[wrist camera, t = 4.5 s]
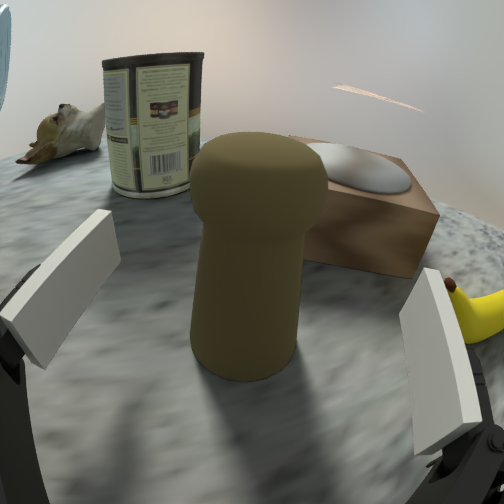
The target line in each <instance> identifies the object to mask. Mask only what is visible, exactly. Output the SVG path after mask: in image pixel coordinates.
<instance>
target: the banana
mask: <svg viewBox="0 0 504 504" xmlns="http://www.w3.org/2000/svg"><path fill="white" fill-rule="evenodd" d="M444 284H445V287H446V290H447V292H448V295H449V298H450V301H451V303H452V306H453V309H454V312H455V315H456V318H457V321H458V324H459V327H460V330H461V333H462V337H463V340H464V343H467V344H471V343H477V342H480V341H482V340H485V339H487V338H489V337H491V336H493V335H495V334H496V333H498V332H500V331H501V330H503V329H504V289H503V290H501V291H499V292H496V293H493V294H491V295H488V296H484V297H480V298H473V299H469V298H468V297H467V295H466V294H465V293H464V292H463V291H462V290H461V289H460V288H459V287H457V286H456V284H455V282H454V281H453V280H452V279H451V278H446V279H445V281H444Z"/></svg>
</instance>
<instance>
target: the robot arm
mask: <svg viewBox="0 0 504 504" xmlns="http://www.w3.org/2000/svg"><path fill="white" fill-rule="evenodd" d="M10 45H11V14H10V11H9V7H8V6H7V5H6V4H2V5H0V110H1V108H2V105H3V102H4V97H5V92H6V86H7V78H8V70H9V58H10ZM120 262H121V257H120V252H119V247H118V242H117V238H116V233H115V227H114V222H113V217H112V211H107V210H101V209H98V210H97V211H95V212H94V213H93V214H92V215H91V216H90V217H89V218H88V219H87V220H86V221H85V222H83V223H82V224H81V225H80V226H79V227H78V228H77V229H76V230H75V231H74V232H73V233H72V234H71V235H70V236H69V237H68V238H67V239H66V240H65V241H64V242H63V243H62V244H61V245H60V246H59V247H58V248H57V249H56V250H55V251H54V252H53V253H52V254H51V255H50V256H49V257H48V258H47V259H46V260H45V261H44V262H43V263H42V264H39V265H38V266H36V267H35V268H33V269H32V270H30V271H29V272H28V273H27V274H26V275H25V276H24V277H23V279H22V281H20V282H19V283H18V284H17V285H16V286H15V287H16V288H14V289H13V290H12V291H11V292H10V293H9V295H8V296H7V297H6V298H5V299H4V301H3V302H2V303H1V304H0V504H50V503H49V500H48V497H47V493H46V490H45V486H44V483H43V479H42V475H41V472H40V467H39V463H38V459H37V454H36V450H35V445H34V439H33V434H32V428H31V422H30V415H29V407H28V398H27V388H26V375H25V363H24V360H23V359H22V358H23V356H24V355H25V354H26V356H27V357H28V358H29V360H30V361H31V362H32V363H33V364H35V365H37V366H38V367H40V368H42V369H44V370H46V368H47V366H48V365H49V363H50V361H51V360H52V358H53V357H54V355H55V354H56V352H57V350H58V349H59V347H60V346H61V344H62V343H63V341H64V340H65V338H66V337H67V335H68V334H69V332H70V331H71V329H72V328H73V326H74V325H75V323H76V322H77V321H78V319H79V318H80V316H81V315H82V313H83V312H84V311H85V309H86V308H87V306H88V305H89V304H90V302H91V301H92V299H93V298H94V297H95V295H96V294H97V293H98V291H99V290H100V288H101V287H102V286H103V284H104V283H105V282H106V280H107V279H108V278H109V276H110V275H111V274H112V273H113V271H114V270H115V269H116V267H117V266H118V265H119V264H120ZM399 318H400V324H401V329H402V335H403V341H404V348H405V354H406V361H407V369H408V377H409V385H410V395H411V406H412V418H413V435H414V456H418V455H432V454H434V453H436V452H437V451H439V450H441V449H442V453H443V455H442V456H440V457H439V458H437V459H435V460H433V461H431V462H430V463H429V464H428V465H427V466H426V467H427V468H429V467H431V466H432V465H434V466H433V467H432V469H431V470H430V472H429V473H428V475H427V476H426V477H425V479H424V480H423V482H422V483H421V484H420V486H419V487H418V488H417V490H416V491H415V492H414V494H413V495H412V496H411V497H410V499H409V500H408V501H407V502H406V504H504V490H503V491H502V492H500V488H501V485H503V484H504V430H503V429H502V428H501V427H500V426H498V425H495V424H494V421H493V416H492V410H491V405H490V401H489V396H488V391H487V387H486V386H485V379H484V376H483V371H482V367H481V364H480V361H479V359H478V357H477V356H476V354H475V352H474V351H473V349H466V347H465V343H464V340H463V337H462V333H461V330H460V327H459V324H458V321H457V318H456V315H455V312H454V309H453V306H452V303H451V301H450V298H449V295H448V292H447V290H446V287H445V284H444V282H443V279H442V277H441V274H440V272H439V270H434V269H429V268H423V270H422V272H421V274H420V276H419V278H418V280H417V282H416V284H415V286H414V288H413V289H412V291H411V293H410V295H409V297H408V299H407V301H406V302H405V304H404V306H403V308H402V310H401V311H400V313H399Z"/></svg>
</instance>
